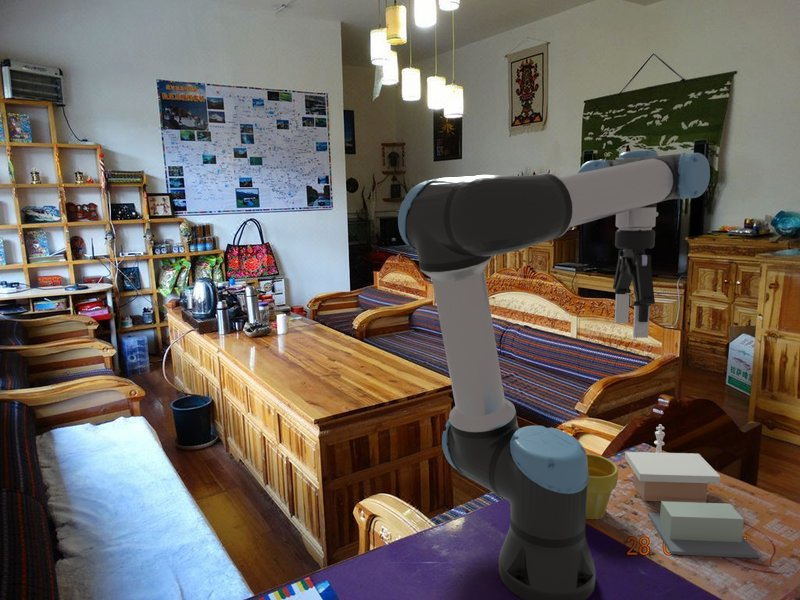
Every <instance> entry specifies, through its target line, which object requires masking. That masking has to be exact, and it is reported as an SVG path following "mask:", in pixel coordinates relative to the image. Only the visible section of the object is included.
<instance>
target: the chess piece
mask: <svg viewBox="0 0 800 600" xmlns="http://www.w3.org/2000/svg"><path fill="white" fill-rule="evenodd" d="M655 429H656V431H654V435H655V438H656V440H654V442H653V443H654V444H655V445H656V448H655V453H663V452H662V451H663V450H662V449H663V448H662V446H665V442H664V441H663V440H664V437H665V435H666V434H665V432H664V431H663V430H665V427H664V426H663V425H662V424H658V426H656V428H655Z"/></svg>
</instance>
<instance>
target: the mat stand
mask: <svg viewBox="0 0 800 600" xmlns="http://www.w3.org/2000/svg"><path fill="white" fill-rule="evenodd" d="M659 511H660V512H647V516H649V517H650V519H651V520H650V519H649V520H650V522H651V521H652V522H651V523H653V524H654V525H653V524H652V525H653V527H654V526H655V527H654V528H656V529H657V530H656V529H655V530H656V532H657V531H658V532H657V534H658V533H659V534H660V535H659V534H658V535H659V537H660V536H661V537H660V539H661V540H662V541H664V542H663V543H664V545H665V544H666V545H665V546H667V547H666V548H667V550H668V551H670V552H669V553H670V555H673V554H677V555H680V556H697V557H701V556H703V557H723V558H725V557H726V558H742V559H743V558H744V559H745V558H746V559H759V553H758V552H757V551H756V550H755V549H754V548H753V547H752V545H751V544H750V543H749V542H748V541H747V540H746V539H745V537H744V536H743V534H744V533H743V531H744V523H745V522H744V521H745V518H743V516H742V515H741V514H740V512H738V510H736V508H735V507H734V506H733V505H732V504H731V503H723V502H722V503H721V502H717V503H716V502H715V503H714V502H706V503H696V502H667V501H660V510H659ZM649 517H648V518H649Z"/></svg>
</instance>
